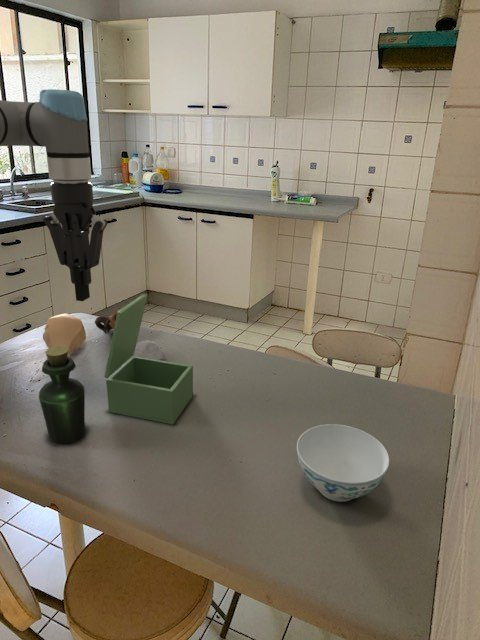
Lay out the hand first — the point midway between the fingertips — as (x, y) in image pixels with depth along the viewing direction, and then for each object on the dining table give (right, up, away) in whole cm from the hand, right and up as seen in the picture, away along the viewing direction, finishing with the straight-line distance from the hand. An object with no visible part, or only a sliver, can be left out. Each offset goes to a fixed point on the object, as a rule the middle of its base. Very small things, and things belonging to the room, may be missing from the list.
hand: (83, 298), depth 96 cm
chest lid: (+9, -8, 0) cm, 12 cm away
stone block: (+7, -16, +22) cm, 28 cm away
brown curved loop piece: (-3, -9, +38) cm, 39 cm away
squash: (-14, -13, +26) cm, 32 cm away
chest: (+13, -23, +5) cm, 27 cm away
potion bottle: (-1, -27, -6) cm, 27 cm away
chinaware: (+49, -33, -17) cm, 62 cm away
